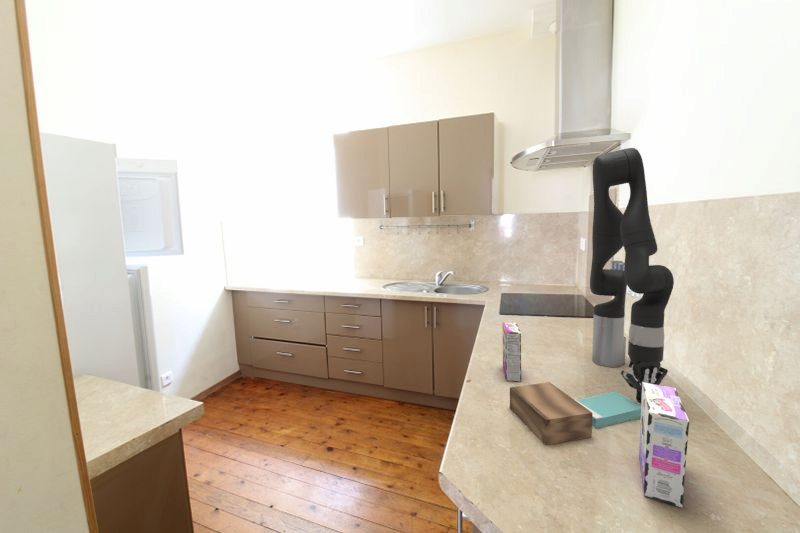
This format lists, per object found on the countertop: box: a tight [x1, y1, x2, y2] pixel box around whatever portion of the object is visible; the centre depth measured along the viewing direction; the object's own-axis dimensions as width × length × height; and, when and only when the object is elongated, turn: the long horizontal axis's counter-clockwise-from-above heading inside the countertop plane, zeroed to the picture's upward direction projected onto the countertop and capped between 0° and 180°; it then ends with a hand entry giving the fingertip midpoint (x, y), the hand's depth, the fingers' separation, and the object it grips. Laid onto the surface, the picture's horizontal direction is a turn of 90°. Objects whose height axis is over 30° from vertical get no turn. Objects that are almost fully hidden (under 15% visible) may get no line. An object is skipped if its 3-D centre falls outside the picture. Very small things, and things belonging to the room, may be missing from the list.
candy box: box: [638, 382, 690, 508], centre depth 65 cm, size 14×6×16 cm, turn 148°
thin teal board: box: [573, 391, 641, 429], centre depth 88 cm, size 16×9×3 cm, turn 106°
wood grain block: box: [509, 381, 593, 445], centre depth 85 cm, size 12×16×6 cm
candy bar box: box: [501, 321, 522, 383], centre depth 112 cm, size 11×5×16 cm, turn 168°
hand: (642, 403), depth 91 cm, fingers closed
